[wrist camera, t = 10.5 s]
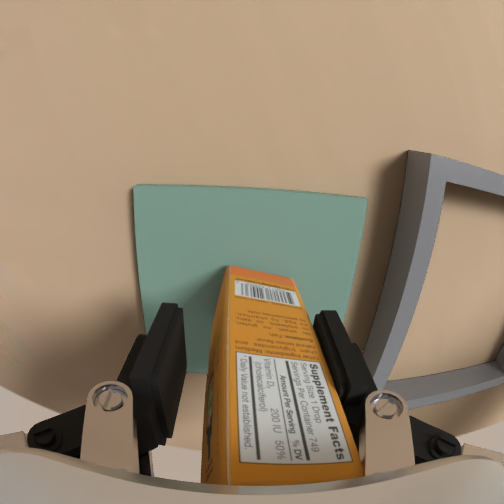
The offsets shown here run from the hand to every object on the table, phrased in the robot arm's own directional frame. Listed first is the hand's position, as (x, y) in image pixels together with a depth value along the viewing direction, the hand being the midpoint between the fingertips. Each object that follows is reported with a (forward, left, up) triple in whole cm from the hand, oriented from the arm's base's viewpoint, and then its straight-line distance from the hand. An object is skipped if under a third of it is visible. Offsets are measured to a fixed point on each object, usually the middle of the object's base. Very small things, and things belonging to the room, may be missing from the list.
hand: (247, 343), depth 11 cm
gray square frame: (-14, 0, -4) cm, 15 cm away
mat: (0, 0, -4) cm, 4 cm away
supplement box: (0, 0, -3) cm, 4 cm away
